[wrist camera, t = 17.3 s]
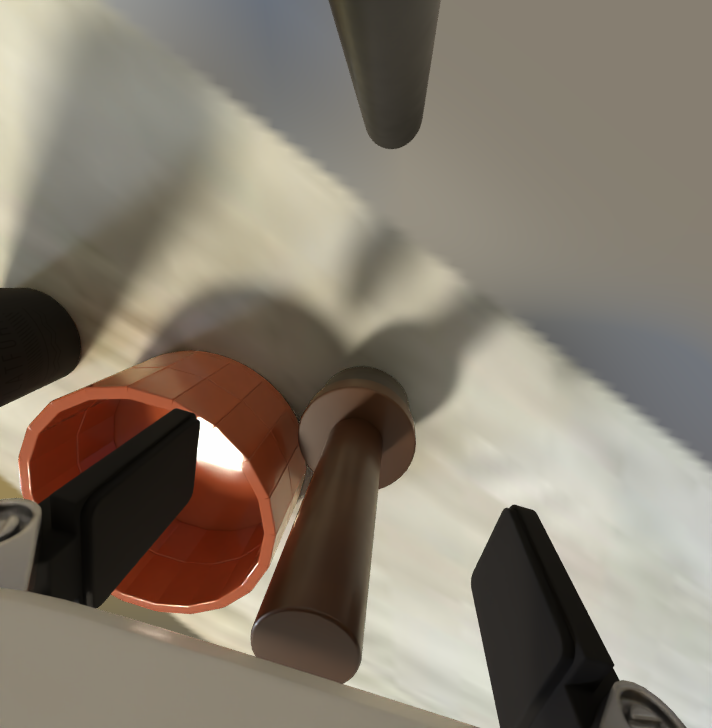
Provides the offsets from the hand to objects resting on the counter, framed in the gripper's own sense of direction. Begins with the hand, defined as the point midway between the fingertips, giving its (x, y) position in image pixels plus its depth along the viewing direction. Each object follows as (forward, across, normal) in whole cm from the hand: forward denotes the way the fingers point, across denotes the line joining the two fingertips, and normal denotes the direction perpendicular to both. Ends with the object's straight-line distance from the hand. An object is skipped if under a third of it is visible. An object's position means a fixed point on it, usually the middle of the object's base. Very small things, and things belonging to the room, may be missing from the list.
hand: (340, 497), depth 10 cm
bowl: (+7, +8, +5) cm, 11 cm away
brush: (+7, 0, 0) cm, 7 cm away
